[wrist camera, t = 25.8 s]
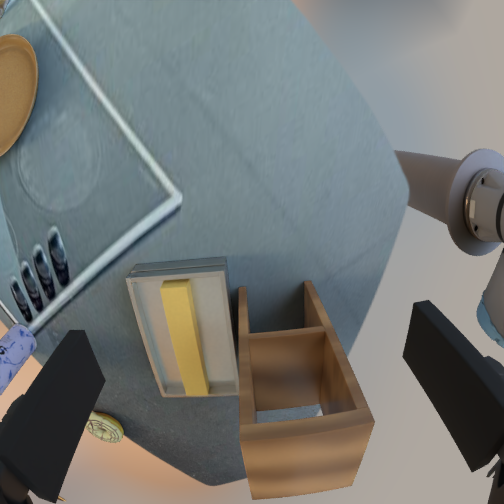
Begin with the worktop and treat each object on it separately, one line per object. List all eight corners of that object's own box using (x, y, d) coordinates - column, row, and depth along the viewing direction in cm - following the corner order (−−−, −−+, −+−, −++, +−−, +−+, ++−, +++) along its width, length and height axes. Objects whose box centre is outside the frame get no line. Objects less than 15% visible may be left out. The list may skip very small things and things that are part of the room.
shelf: (238, 287, 51) (239, 441, 23) (311, 280, 51) (375, 421, 23) (246, 353, 56) (252, 499, 28) (310, 347, 56) (351, 485, 28)
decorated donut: (86, 402, 61) (81, 413, 57) (126, 418, 62) (123, 430, 59) (86, 424, 64) (82, 434, 60) (123, 439, 66) (120, 449, 62)
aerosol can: (30, 325, 53) (-18, 382, 34) (41, 354, 56) (0, 412, 37) (7, 321, 52) (-41, 372, 34) (17, 349, 55) (-24, 402, 36)
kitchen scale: (136, 264, 49) (125, 278, 44) (225, 256, 49) (224, 270, 44) (168, 381, 58) (163, 400, 53) (241, 378, 58) (242, 398, 53)
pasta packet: (163, 279, 46) (159, 288, 43) (189, 278, 46) (186, 286, 43) (188, 384, 54) (186, 395, 51) (209, 384, 54) (208, 395, 51)
